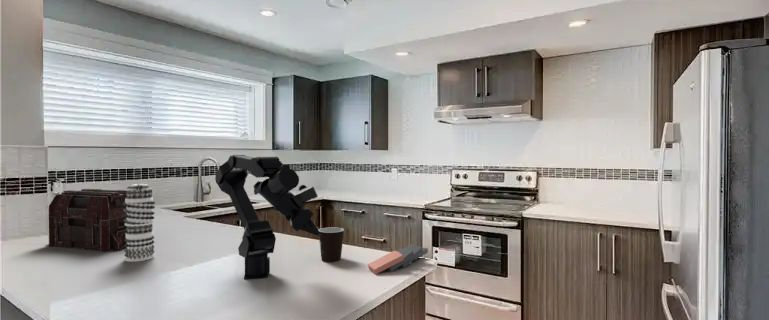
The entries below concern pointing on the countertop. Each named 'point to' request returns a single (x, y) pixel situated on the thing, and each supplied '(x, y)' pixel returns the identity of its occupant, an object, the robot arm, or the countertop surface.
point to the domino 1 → (385, 262)
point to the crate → (88, 220)
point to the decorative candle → (139, 222)
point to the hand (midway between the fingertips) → (318, 234)
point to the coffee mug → (331, 243)
